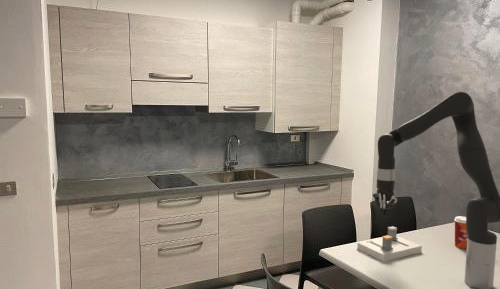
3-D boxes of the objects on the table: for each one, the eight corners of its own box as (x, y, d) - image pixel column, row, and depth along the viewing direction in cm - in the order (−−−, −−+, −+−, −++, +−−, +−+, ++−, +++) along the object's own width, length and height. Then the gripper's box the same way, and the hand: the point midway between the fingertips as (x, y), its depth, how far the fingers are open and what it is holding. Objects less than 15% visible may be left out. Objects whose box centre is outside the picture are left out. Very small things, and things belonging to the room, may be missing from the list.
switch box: (383, 261, 159) (383, 254, 158) (357, 248, 173) (357, 242, 173) (421, 252, 169) (421, 245, 169) (393, 240, 184) (394, 234, 183)
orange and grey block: (386, 250, 162) (386, 238, 161) (380, 248, 165) (381, 236, 164) (393, 249, 164) (393, 237, 163) (387, 246, 167) (388, 234, 166)
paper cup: (461, 250, 172) (463, 221, 170) (448, 244, 179) (450, 216, 178) (474, 248, 174) (477, 220, 172) (461, 242, 181) (463, 215, 180)
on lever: (391, 240, 175) (391, 229, 174) (385, 238, 177) (386, 227, 177) (397, 239, 177) (398, 227, 176) (392, 237, 179) (393, 225, 179)
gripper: (404, 180, 159) (402, 219, 160) (380, 175, 170) (379, 211, 172) (391, 181, 155) (390, 221, 157) (368, 176, 167) (367, 213, 169)
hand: (384, 216), depth 164 cm, fingers closed
